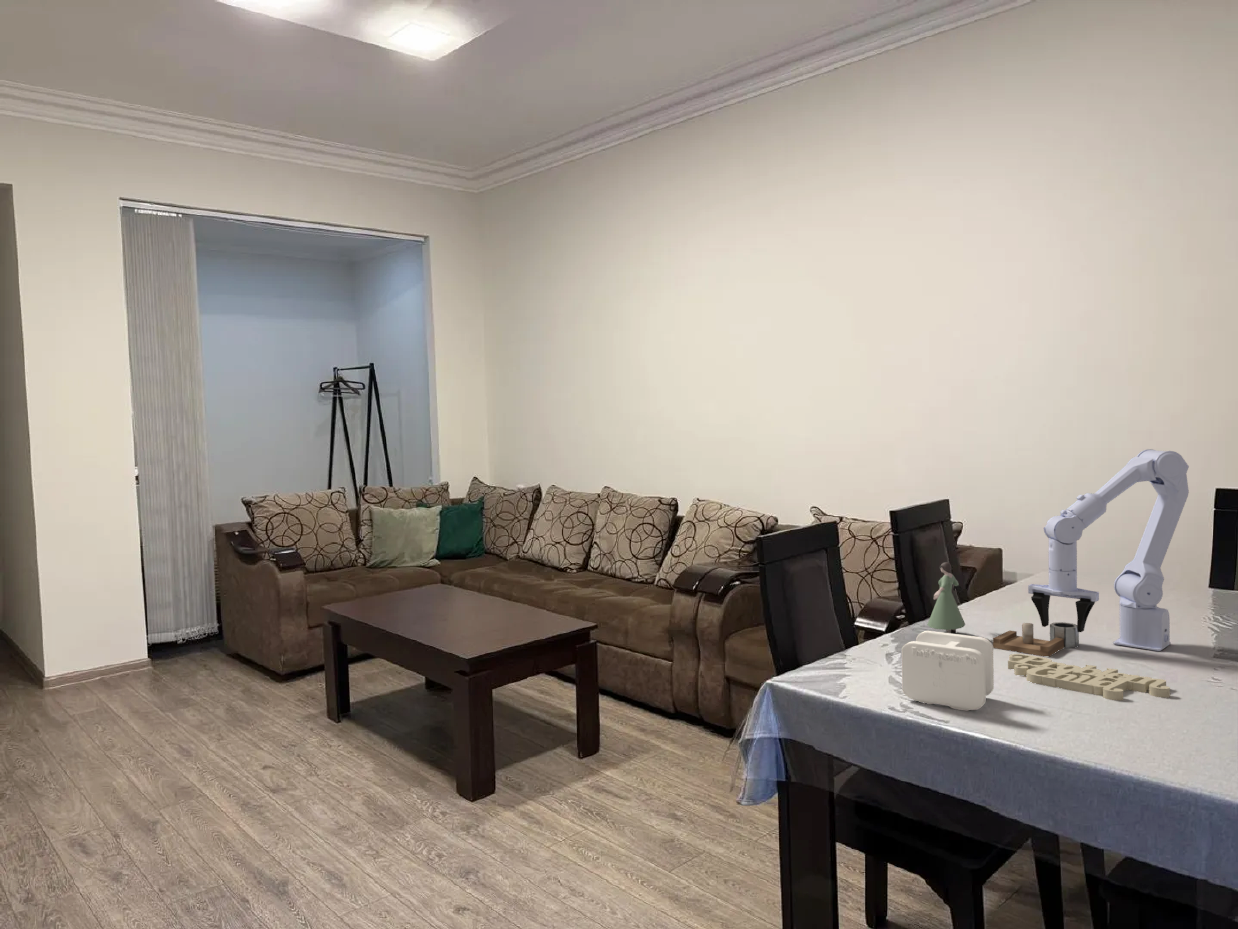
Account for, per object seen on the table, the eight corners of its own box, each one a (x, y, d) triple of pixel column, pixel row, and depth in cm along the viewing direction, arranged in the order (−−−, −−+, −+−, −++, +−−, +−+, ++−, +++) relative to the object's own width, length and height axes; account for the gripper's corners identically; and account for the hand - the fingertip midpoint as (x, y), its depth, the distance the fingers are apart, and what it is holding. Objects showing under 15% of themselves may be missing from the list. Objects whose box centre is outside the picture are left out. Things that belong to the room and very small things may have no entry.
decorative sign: (985, 668, 178) (1014, 652, 188) (985, 678, 178) (1014, 661, 188) (1157, 699, 156) (1178, 679, 167) (1157, 710, 156) (1178, 690, 167)
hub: (1081, 644, 198) (1081, 624, 198) (1072, 649, 194) (1072, 629, 194) (1056, 640, 202) (1056, 621, 202) (1047, 645, 198) (1046, 625, 198)
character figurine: (945, 626, 219) (943, 555, 218) (978, 630, 213) (977, 558, 212) (917, 639, 207) (915, 564, 206) (951, 644, 202) (950, 568, 201)
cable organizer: (999, 699, 164) (998, 639, 163) (982, 716, 156) (981, 652, 155) (919, 686, 173) (918, 629, 173) (900, 701, 165) (898, 641, 164)
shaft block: (1063, 648, 195) (1063, 624, 195) (1048, 657, 189) (1047, 632, 189) (1009, 639, 204) (1009, 616, 204) (993, 647, 198) (992, 624, 198)
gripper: (1022, 568, 199) (1022, 626, 200) (1090, 575, 189) (1090, 637, 190) (1035, 564, 204) (1035, 621, 205) (1102, 570, 194) (1102, 631, 194)
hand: (1062, 628), depth 198 cm, fingers open, 7 cm apart
